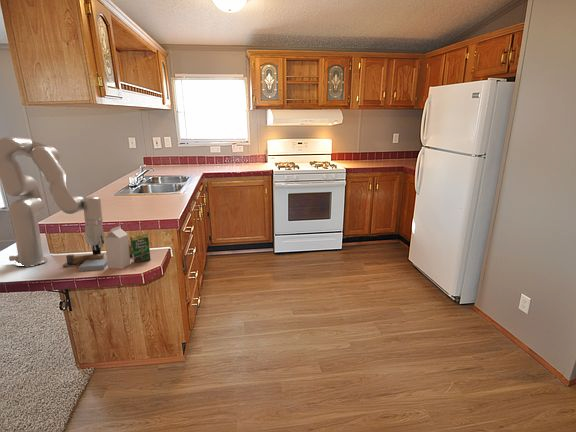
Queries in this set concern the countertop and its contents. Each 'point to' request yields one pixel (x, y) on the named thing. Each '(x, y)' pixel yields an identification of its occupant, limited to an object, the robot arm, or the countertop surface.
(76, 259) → the leg
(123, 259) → the milk carton
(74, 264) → the hinge plate
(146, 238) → the coffee box
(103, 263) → the seat board
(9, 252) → the countertop surface
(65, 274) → the countertop surface
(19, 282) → the countertop surface
